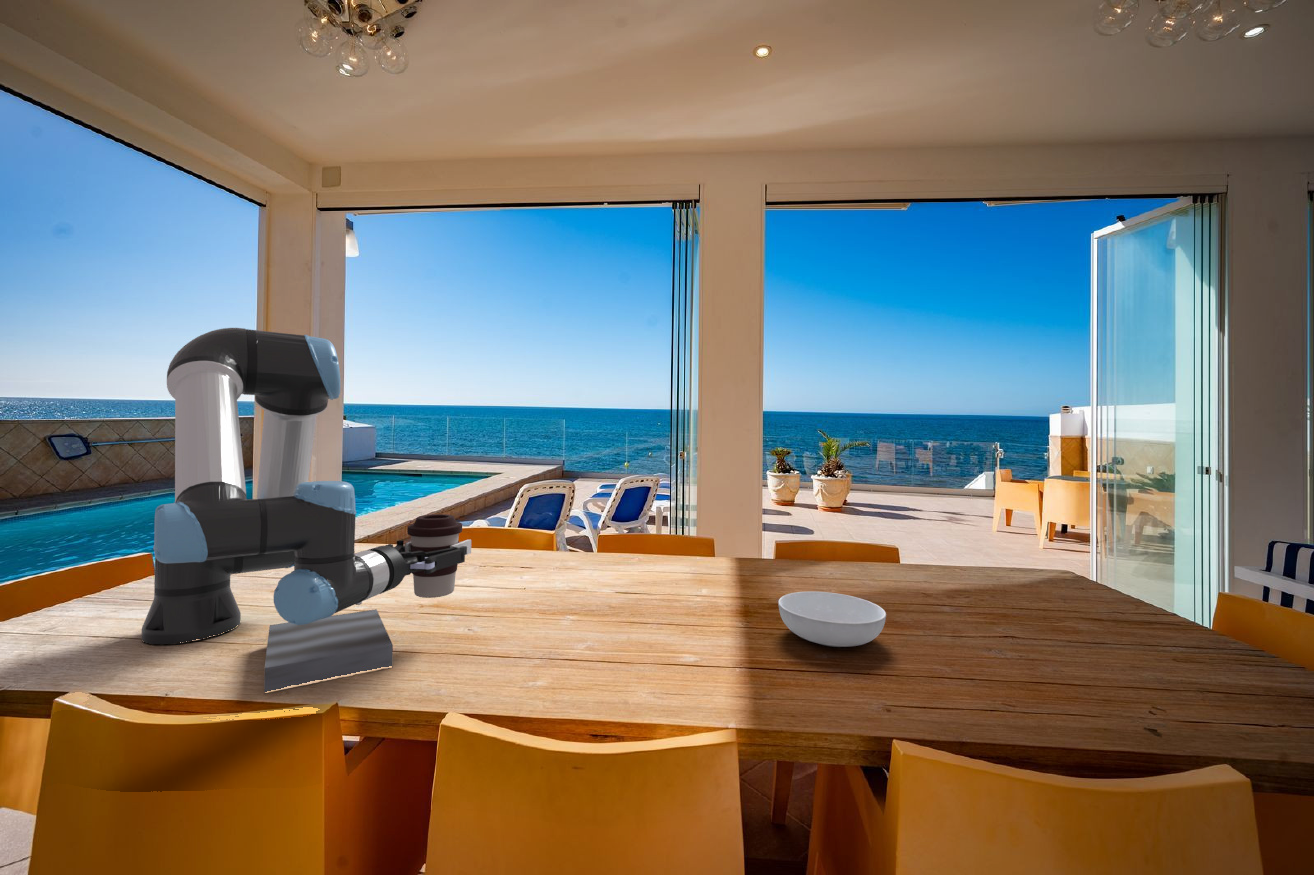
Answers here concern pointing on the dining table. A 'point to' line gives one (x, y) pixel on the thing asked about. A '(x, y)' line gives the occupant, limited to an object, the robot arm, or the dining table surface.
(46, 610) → the dining table surface
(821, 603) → the serving bowl
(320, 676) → the stand
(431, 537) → the coffee cup
